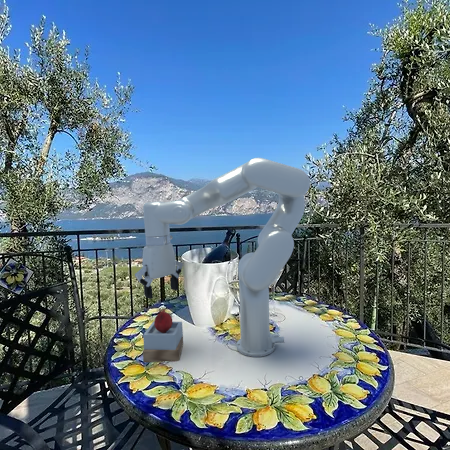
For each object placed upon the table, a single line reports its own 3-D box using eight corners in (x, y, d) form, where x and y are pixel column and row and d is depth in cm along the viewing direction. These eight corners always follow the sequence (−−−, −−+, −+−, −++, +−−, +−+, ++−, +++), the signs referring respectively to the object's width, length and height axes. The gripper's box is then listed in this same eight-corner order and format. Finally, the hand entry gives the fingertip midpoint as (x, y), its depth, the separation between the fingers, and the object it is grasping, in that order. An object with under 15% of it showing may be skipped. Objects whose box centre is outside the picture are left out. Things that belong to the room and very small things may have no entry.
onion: (168, 337, 97) (167, 313, 96) (151, 336, 98) (150, 312, 98) (175, 330, 103) (174, 306, 102) (159, 328, 104) (158, 305, 103)
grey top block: (182, 335, 105) (182, 321, 105) (175, 349, 95) (174, 335, 95) (154, 334, 106) (153, 321, 106) (144, 349, 96) (143, 334, 96)
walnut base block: (183, 345, 107) (182, 333, 106) (179, 362, 96) (178, 350, 95) (151, 346, 107) (150, 335, 106) (143, 363, 96) (142, 351, 95)
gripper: (173, 236, 106) (176, 285, 108) (127, 244, 94) (131, 299, 95) (187, 237, 101) (190, 288, 103) (140, 246, 88) (144, 304, 90)
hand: (162, 293), depth 99 cm, fingers open, 9 cm apart
